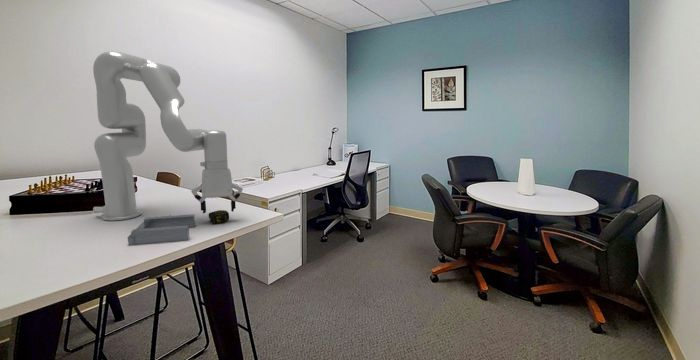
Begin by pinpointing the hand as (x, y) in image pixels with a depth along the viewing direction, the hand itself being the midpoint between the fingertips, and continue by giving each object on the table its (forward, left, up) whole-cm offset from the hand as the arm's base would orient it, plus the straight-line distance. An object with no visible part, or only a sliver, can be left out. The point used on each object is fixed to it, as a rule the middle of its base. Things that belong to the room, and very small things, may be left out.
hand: (218, 211), depth 119 cm
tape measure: (-1, -1, -4) cm, 4 cm away
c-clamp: (-16, -9, -4) cm, 18 cm away
